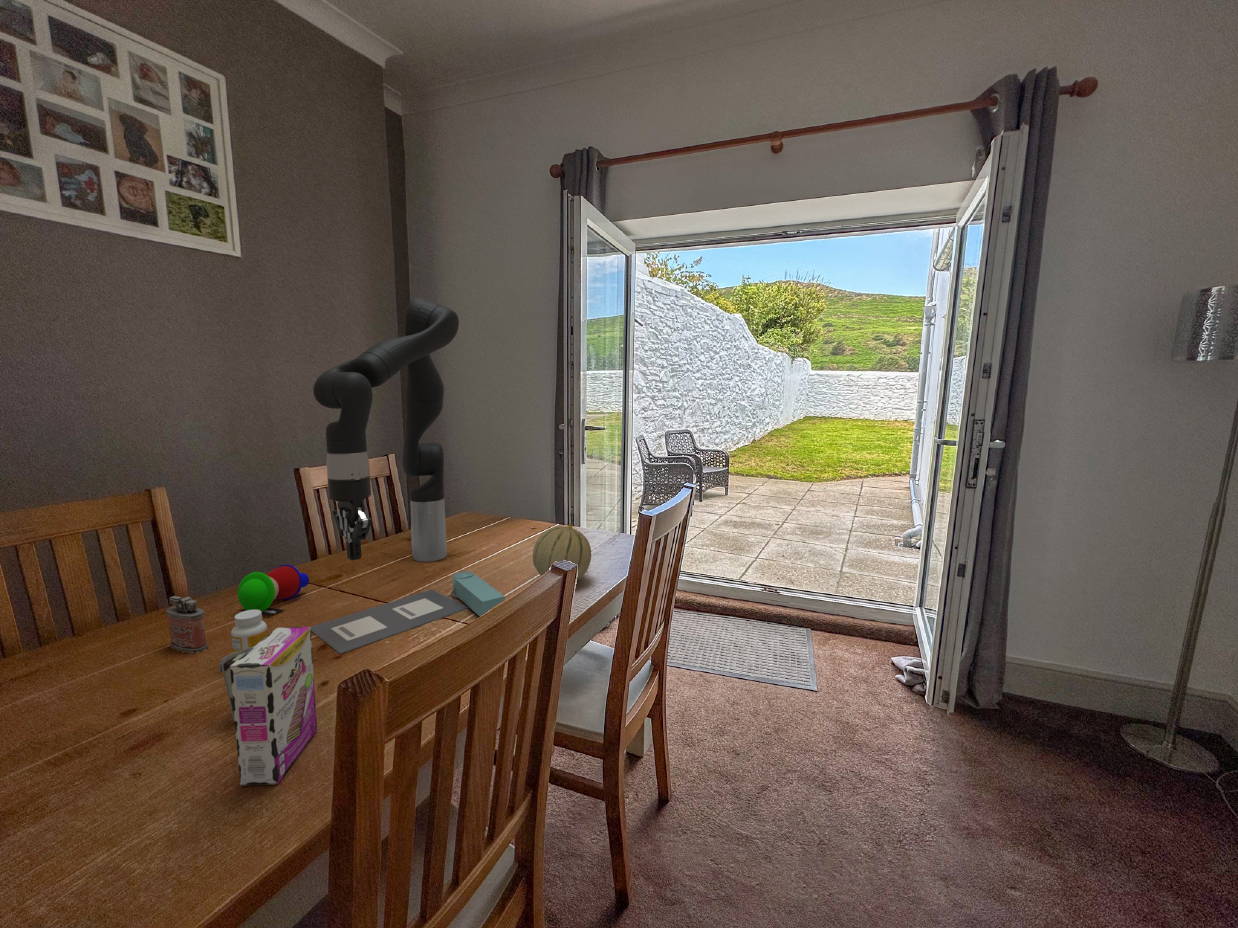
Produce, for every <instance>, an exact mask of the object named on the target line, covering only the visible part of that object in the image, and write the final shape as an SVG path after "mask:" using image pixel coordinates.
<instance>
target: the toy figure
mask: <svg viewBox="0 0 1238 928" xmlns="http://www.w3.org/2000/svg"><path fill="white" fill-rule="evenodd" d="M309 582H310V577H309V575H308V574H307V573H304V572H300V571H299V570H298V568H297V567H295V566H294V565H291V564H282V565H281V564H280V565H278V566H277V567H276V568H274V569H273V570H271V571H270V572H268V573H264V572H260V571H253V572H251V573H248V574H247V575H246V576H244V577H243V578H242V579H241V580H240V583H239V585H238V588H237V598H238V602H239V604H240V606H241V607H242V609H238V611H240V612H243V611H247V610H260V611H261V613H262V615H267V616H268V615H269V616H270V615H274V614H277V613H281V612H284V611H286V610H285V609H281V608H272V607H271V605H272V604H273V601H274V600H277V599H278V600H284V601H287V600H291V599H294V598H295V597H296V596H298V595H299V593H300V591H301V589H302V588H305V587H307V586H308V585H309Z"/></svg>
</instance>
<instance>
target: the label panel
mask: <svg viewBox="0 0 1238 928" xmlns="http://www.w3.org/2000/svg"><path fill="white" fill-rule="evenodd" d="M468 609H470V607H469V606H467V605H466V604H462V603H461V602H458V601H457V600H455V599H454V598H453V599H452V598H450V597H448V596H446V595H444V594H442V593H440V592H438V591H435V590H434V589H427V590H425V591H421V592H419V593H415V594H411V595H408V596H405V597H402V598H399V599H396V600H393V601H390V602H387V603H382V604H379V605H376V606H373V607H370V608H367V609H363V610H360V611H357V612H353V613H351V614H347V615H344V616H340V617H337V618H333V619H330V620H328V621H325V622H322V623H321V622H320V623H317V624H315V625H311V626H310V627H311V633H313V634H314V635H315V636H317V638H319V639H320V640H321V641H323V642H324V643H326V645H328V647H331V648H332V649H334V651H336V652H337V653H338V654H340V655H342V653H343V654H346V653H347V652H348V653H349V652H351V651H353V650H356V649H359V648H362V647H365V646H367V645H370V644H373V643H375V642H376V643H377V642H379V641H382V640H384V639H385V640H386V639H388V638H389V637H394V636H395V635H398V634H401V633H404V632H406V631H410V630H412V629H414V628H415V629H416V628H417V627H421V626H423V625H426V624H429V623H432V622H434V621H437V620H439V619H443V618H446V617H449V616H452V615H454V614H457V613H461V612H463V611H466V610H468ZM345 652H346V653H345Z"/></svg>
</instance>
